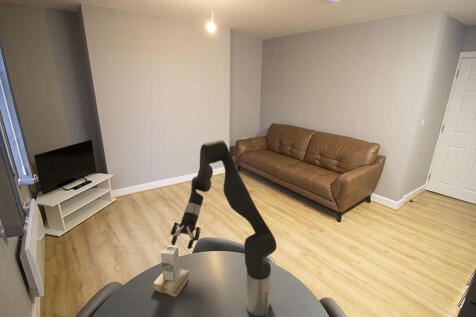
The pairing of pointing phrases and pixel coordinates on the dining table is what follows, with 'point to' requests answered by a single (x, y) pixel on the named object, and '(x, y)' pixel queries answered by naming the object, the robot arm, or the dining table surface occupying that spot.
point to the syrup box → (170, 263)
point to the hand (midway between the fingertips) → (180, 246)
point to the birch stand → (171, 283)
